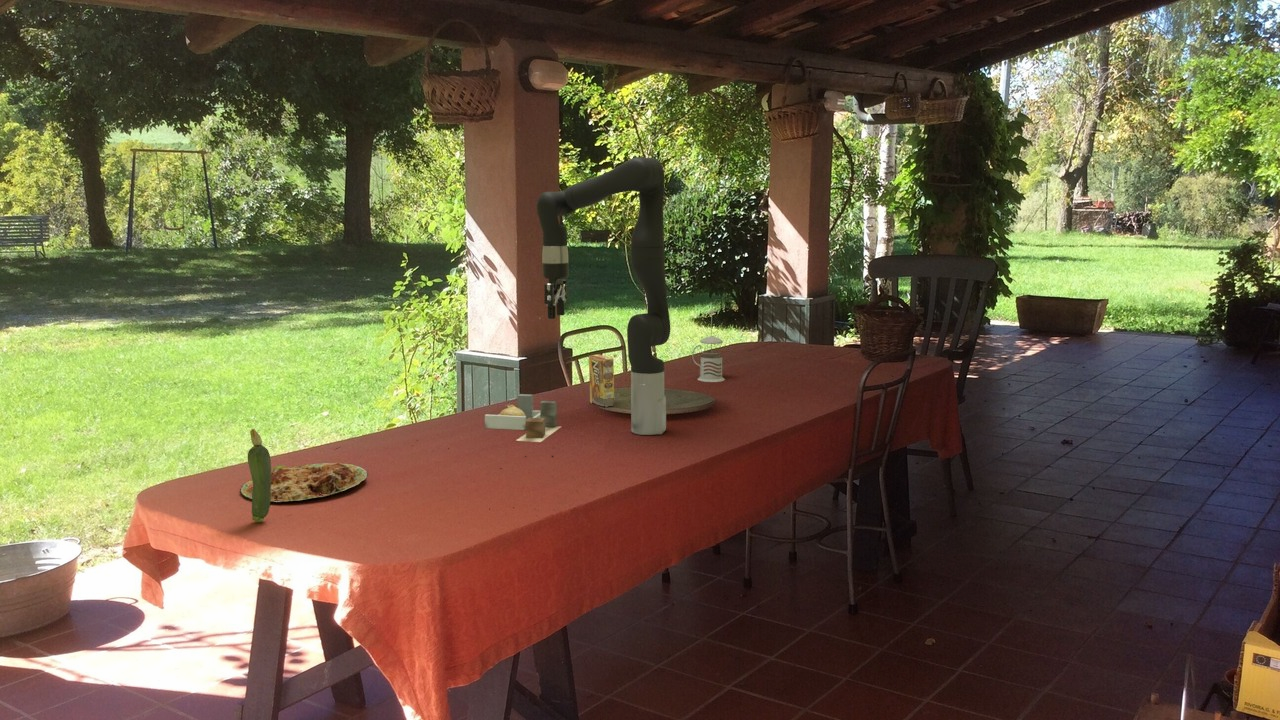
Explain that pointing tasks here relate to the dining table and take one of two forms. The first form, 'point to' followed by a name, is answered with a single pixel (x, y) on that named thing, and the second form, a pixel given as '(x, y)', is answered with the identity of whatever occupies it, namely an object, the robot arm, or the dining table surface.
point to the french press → (715, 358)
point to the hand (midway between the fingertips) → (556, 316)
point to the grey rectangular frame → (514, 421)
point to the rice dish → (310, 481)
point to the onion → (512, 411)
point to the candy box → (601, 377)
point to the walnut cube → (535, 427)
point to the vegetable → (259, 477)
